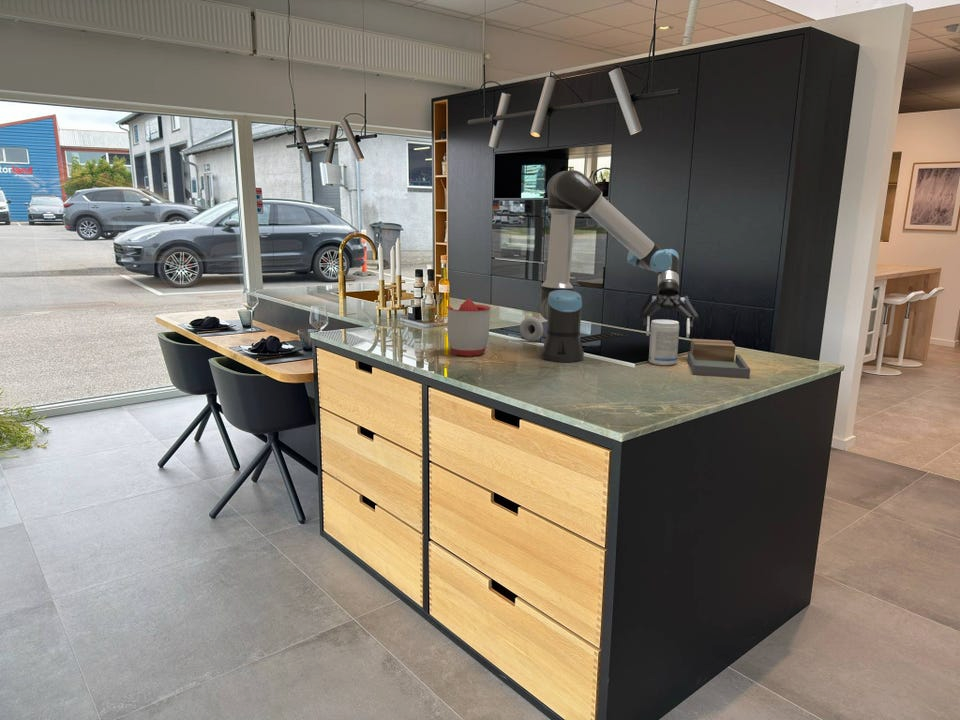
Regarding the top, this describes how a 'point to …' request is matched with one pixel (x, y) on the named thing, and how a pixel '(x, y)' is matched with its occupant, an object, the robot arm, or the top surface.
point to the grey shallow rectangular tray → (719, 367)
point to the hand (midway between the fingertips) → (667, 334)
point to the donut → (537, 326)
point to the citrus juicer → (468, 328)
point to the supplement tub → (664, 342)
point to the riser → (713, 350)
